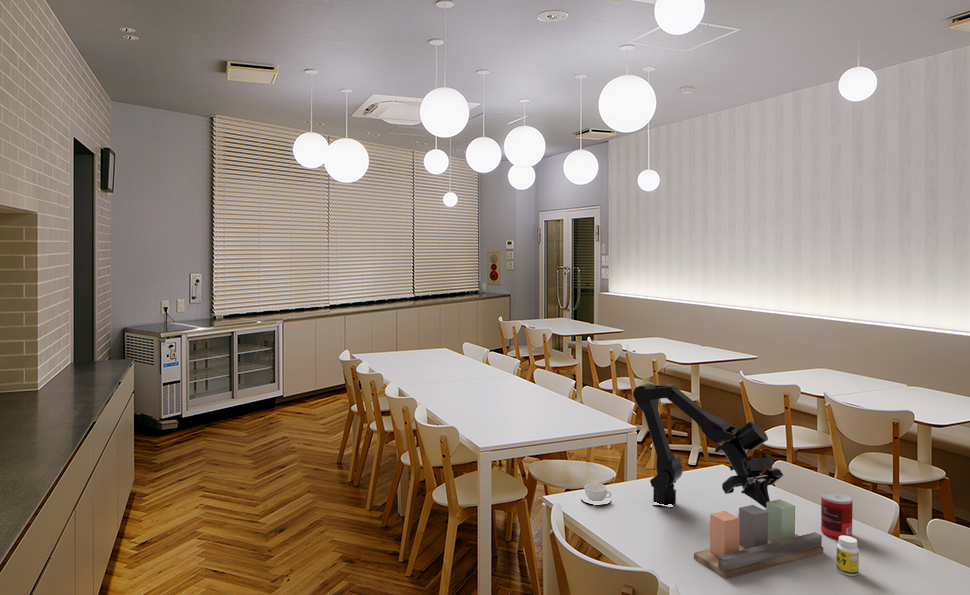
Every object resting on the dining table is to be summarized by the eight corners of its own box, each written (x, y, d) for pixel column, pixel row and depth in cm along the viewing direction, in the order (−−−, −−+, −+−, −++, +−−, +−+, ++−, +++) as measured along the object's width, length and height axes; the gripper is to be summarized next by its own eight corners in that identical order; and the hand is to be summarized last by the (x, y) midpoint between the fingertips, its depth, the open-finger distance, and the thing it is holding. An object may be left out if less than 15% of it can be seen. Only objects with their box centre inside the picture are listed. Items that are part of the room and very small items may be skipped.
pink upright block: (707, 549, 154) (707, 512, 154) (721, 545, 156) (721, 509, 156) (724, 559, 149) (724, 521, 148) (739, 555, 151) (739, 517, 150)
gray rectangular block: (735, 542, 158) (736, 506, 158) (749, 539, 160) (749, 503, 160) (753, 552, 153) (753, 514, 152) (767, 548, 155) (768, 511, 154)
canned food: (847, 530, 169) (848, 493, 168) (855, 542, 161) (856, 503, 161) (818, 526, 171) (818, 490, 171) (824, 538, 164) (824, 500, 163)
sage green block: (763, 536, 162) (763, 500, 162) (776, 532, 164) (776, 498, 163) (781, 545, 156) (781, 508, 156) (794, 541, 158) (795, 505, 158)
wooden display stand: (693, 558, 153) (693, 541, 153) (787, 535, 166) (788, 520, 165) (725, 578, 143) (725, 560, 142) (823, 552, 155) (823, 535, 155)
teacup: (577, 504, 190) (577, 490, 190) (584, 493, 199) (584, 480, 199) (608, 508, 186) (608, 494, 186) (613, 497, 195) (613, 484, 195)
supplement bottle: (831, 567, 148) (832, 534, 147) (849, 566, 148) (849, 534, 148) (845, 577, 143) (845, 543, 143) (863, 576, 143) (863, 542, 143)
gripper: (729, 448, 164) (761, 501, 154) (778, 440, 171) (811, 490, 161) (709, 468, 171) (738, 519, 161) (756, 459, 178) (787, 508, 169)
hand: (769, 508), depth 163 cm, fingers closed, pressing on sage green block
